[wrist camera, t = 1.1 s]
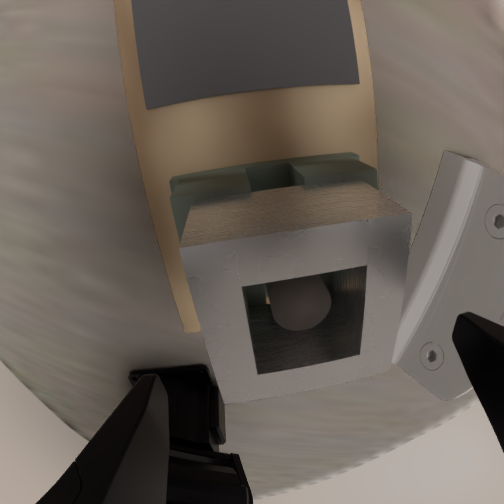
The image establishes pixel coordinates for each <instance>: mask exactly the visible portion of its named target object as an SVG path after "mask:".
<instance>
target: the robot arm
mask: <svg viewBox="0 0 504 504" xmlns="http://www.w3.org/2000/svg"><path fill="white" fill-rule="evenodd" d="M452 341H453V343H454V346H455V348H456V350H457V353H458V355H459V357H460V360H461V362H462V364H463V367H464V369H465V372H466V374H467V376H468V379H469V381H470V383H471V385H472V387H473V388H474V390H475V392H476V394H477V396H478V398H479V400H480V402H481V404H482V406H483V408H484V410H485V412H486V414H487V416H488V418H489V421H490V423H491V425H492V427H493V429H494V432H495V434H496V436H497V438H498V441H499V443H500V445H501V447H502V450H503V452H504V326H502V325H499V324H497V323H495V322H493V321H490V320H488V319H486V318H484V317H481V316H479V315H477V314H474V313H472V312H469V311H467V312H464V313H461V314H459V315H458V316H457V318H456V322H455V325H454V329H453V332H452ZM200 371H203V372H200ZM129 380H130V382H131V384H132V386H133V388H132V389H131V390H130V391H129V393H128V394H127V395H126V396H125V398H124V399H123V400H122V401H121V403H120V404H119V405H118V406H117V408H116V409H115V410H114V411H113V413H112V414H111V415H110V416H109V418H108V419H107V420H106V421H105V423H104V424H103V425H102V426H101V428H100V429H99V430H98V431H97V433H96V434H95V435H94V436H93V438H92V439H91V440H90V441H89V443H88V444H87V445H86V447H85V448H84V449H83V450H82V452H81V453H80V454H79V455H78V457H77V458H76V459H75V461H74V462H73V463H72V464H71V465H70V467H69V468H68V469H67V470H66V471H65V473H64V474H63V475H62V476H61V477H60V479H59V480H58V481H57V482H56V483H55V484H54V486H52V488H50V490H49V491H48V492H47V493H46V494H45V495H44V496H43V497H42V498H41V499H40V500H39V501H38V502H37V503H36V504H253V497H252V493H251V490H250V487H249V484H248V481H247V478H246V475H245V472H244V469H243V466H242V463H241V460H240V457H239V455H238V454H234V453H231V454H227V453H221V452H219V445H222V444H224V443H225V442H226V433H225V409H224V402H223V399H222V396H221V393H220V390H219V387H217V386H216V385H213V382H212V379H211V376H210V373H209V370H208V368H207V367H206V366H203V365H199V366H190V367H180V368H169V369H157V370H143V371H132V372H130V374H129Z"/></svg>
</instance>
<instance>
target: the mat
mask: <svg viewBox="0 0 504 504" xmlns="http://www.w3.org/2000/svg"><path fill="white" fill-rule="evenodd" d="M131 3H132V13H133V22H134V31H135V39H136V46H137V54H138V61H139V68H140V75H141V81H142V88H143V94H144V100H145V106H146V110H149V109H153V108H158V107H162V106H167V105H171V104H176V103H181V102H186V101H191V100H196V99H202V98H208V97H214V96H220V95H226V94H233V93H240V92H248V91H256V90H265V89H275V88H286V87H299V86H316V85H344V84H360V80H359V72H358V64H357V56H356V49H355V42H354V35H353V29H352V23H351V17H350V12H349V6H348V1H347V0H131Z"/></svg>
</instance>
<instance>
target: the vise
mask: <svg viewBox="0 0 504 504" xmlns="http://www.w3.org/2000/svg"><path fill="white" fill-rule="evenodd" d="M347 1H348V6H349V12H350V17H351V23H352V29H353V35H354V42H355V49H356V56H357V64H358V72H359V80H360V84H344V85H316V86H299V87H286V88H275V89H265V90H256V91H248V92H240V93H233V94H226V95H220V96H214V97H208V98H202V99H196V100H191V101H186V102H181V103H176V104H171V105H167V106H162V107H158V108H153V109H149V110H146V106H145V100H144V94H143V88H142V81H141V75H140V68H139V61H138V54H137V46H136V39H135V31H134V22H133V13H132V3H131V0H114V4H115V15H116V25H117V34H118V43H119V51H120V58H121V65H122V72H123V79H124V85H125V92H126V98H127V104H128V109H129V115H130V121H131V126H132V131H133V136H134V141H135V146H136V151H137V156H138V161H139V165H140V170H141V175H142V179H143V183H144V188H145V192H146V196H147V200H148V205H149V209H150V213H151V217H152V221H153V225H154V228H155V232H156V236H157V240H158V244H159V247H160V251H161V254H162V258H163V262H164V265H165V269H166V272H167V276H168V279H169V282H170V286H171V289H172V292H173V296H174V299H175V302H176V305H177V308H178V312H179V315H180V318H181V321H182V324H183V327H184V330H185V333H192V332H200V331H201V328H200V325H199V321H198V318H197V314H196V311H195V307H194V304H193V300H192V296H191V293H190V289H189V285H188V282H187V278H186V274H185V270H184V267H183V263H182V259H181V255H180V251H179V246H180V243H181V239H182V235H183V232H184V228H185V225H186V221H187V218H188V214H189V211H190V207H191V204H192V202H195V201H200V200H206V199H212V198H218V197H224V196H230V195H237V194H243V193H250V192H256V191H263V190H270V189H277V188H284V187H292V186H299V185H307V184H315V183H323V182H332V181H341V180H350V179H361V180H362V181H364V182H366V183H367V184H369V185H370V186H372V187H373V188H375V189H377V190H378V148H377V128H376V114H375V101H374V90H373V80H372V71H371V63H370V55H369V48H368V41H367V35H366V28H365V23H364V17H363V11H362V6H361V1H360V0H347ZM245 290H246V296H247V302H248V307H252V306H258V305H265V304H270V306H271V310H272V314H273V317H274V319H275V321H276V322H277V323H278V324H279V325H280V326H281V327H283V328H285V329H288V330H294V331H300V330H306V329H309V328H312V327H314V326H316V325H317V324H319V323H320V322H321V321H322V320H323V319H324V318H325V317H326V316H327V314H328V312H329V310H330V307H331V297H330V294H329V272H327V273H321V274H315V275H310V276H304V277H298V278H292V279H286V280H280V281H274V282H268V283H262V284H255V285H249V286H245Z"/></svg>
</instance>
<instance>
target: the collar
mask: <svg viewBox="0 0 504 504" xmlns="http://www.w3.org/2000/svg"><path fill="white" fill-rule="evenodd" d="M411 220H412V213H411V212H409V211H408V210H407V209H405V208H404V207H402V206H401V205H399V204H398V203H396V202H395V201H393V200H392V199H390V198H389V197H387V196H386V195H384V194H383V193H381V192H380V191H378V190H377V189H375V188H373V187H372V186H370V185H369V184H367V183H366V182H364V181H362V180H361V179H350V180H341V181H332V182H323V183H315V184H307V185H299V186H292V187H284V188H277V189H270V190H263V191H256V192H250V193H243V194H237V195H230V196H224V197H218V198H212V199H206V200H200V201H195V202H192V204H191V207H190V211H189V214H188V218H187V221H186V225H185V228H184V232H183V235H182V239H181V243H180V246H179V251H180V255H181V259H182V263H183V267H184V270H185V274H186V278H187V282H188V285H189V289H190V293H191V296H192V300H193V304H194V307H195V311H196V314H197V318H198V321H199V325H200V328H201V331H202V335H203V338H204V341H205V345H206V348H207V351H208V355H209V358H210V361H211V364H212V367H213V371H214V374H215V377H216V380H217V383H218V386H219V389H220V392H221V395H222V398H223V401H224V404H229V403H237V402H245V401H252V400H259V399H266V398H272V397H278V396H284V395H289V394H295V393H300V392H305V391H310V390H315V389H320V388H324V387H329V386H333V385H338V384H342V383H346V382H350V381H354V380H358V379H362V378H366V377H370V376H373V375H377V374H380V373H384V372H387V371H390V367H391V363H392V358H393V353H394V349H395V344H396V338H397V333H398V328H399V322H400V316H401V310H402V304H403V297H404V290H405V282H406V274H407V266H408V257H409V246H410V234H411ZM327 272H329V294H330V297H331V307H330V310H329V312H328V314H327V316H326V317H325V318H324V319H323V320H322V321H321V322H320V323H319V324H317V325H316V326H314V327H312V328H309V329H306V330H300V331H294V330H288V329H285V328H283V327H281V326H280V325H279V324H278V323H277V322H276V321H275V319H274V317H273V314H272V310H271V306H270V304H265V305H258V306H252V307H248V302H247V296H246V290H245V286H249V285H255V284H262V283H268V282H274V281H280V280H286V279H292V278H298V277H304V276H310V275H315V274H321V273H327Z"/></svg>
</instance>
